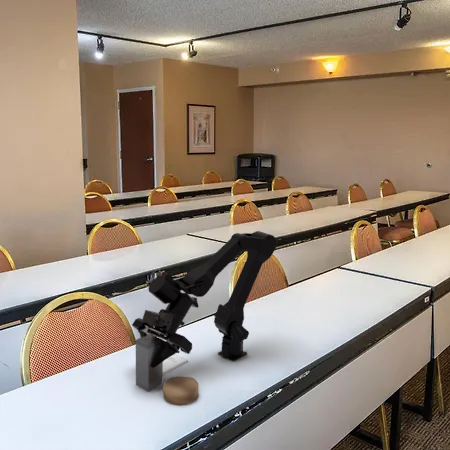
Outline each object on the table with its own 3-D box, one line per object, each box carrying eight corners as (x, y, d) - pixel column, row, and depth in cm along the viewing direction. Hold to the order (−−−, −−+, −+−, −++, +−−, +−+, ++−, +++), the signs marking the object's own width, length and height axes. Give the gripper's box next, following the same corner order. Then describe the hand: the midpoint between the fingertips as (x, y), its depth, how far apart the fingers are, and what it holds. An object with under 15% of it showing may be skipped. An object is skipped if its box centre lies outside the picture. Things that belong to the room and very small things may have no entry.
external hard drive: (137, 370, 144) (167, 355, 154) (158, 380, 140) (188, 363, 149) (137, 365, 144) (168, 350, 154) (158, 374, 139) (188, 358, 149)
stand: (181, 382, 137) (181, 372, 137) (205, 394, 132) (205, 384, 131) (156, 395, 131) (156, 385, 130) (180, 409, 125) (181, 398, 124)
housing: (150, 378, 139) (150, 333, 137) (162, 384, 136) (162, 339, 133) (135, 384, 136) (135, 339, 133) (148, 391, 132) (148, 345, 130)
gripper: (136, 290, 140) (104, 339, 134) (185, 307, 128) (152, 362, 122) (158, 309, 147) (128, 357, 141) (205, 327, 136) (175, 380, 130)
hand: (144, 363), depth 133 cm, fingers closed on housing, 5 cm apart
